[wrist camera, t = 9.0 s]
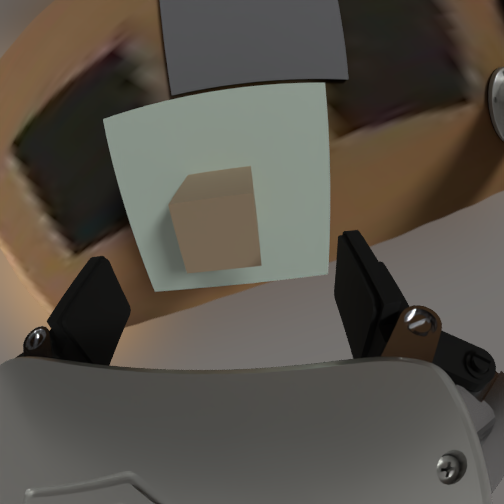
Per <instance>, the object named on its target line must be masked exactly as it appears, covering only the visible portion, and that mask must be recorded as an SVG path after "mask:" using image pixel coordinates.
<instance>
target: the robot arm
mask: <svg viewBox="0 0 504 504" xmlns="http://www.w3.org/2000/svg"><path fill="white" fill-rule="evenodd" d="M488 103H489V111H490V116H491V119H492V123H493V126H494V128H495V130H496V132H497V134H498V136H499V137H500V138H501V140H502V141H504V67H500V68H498V69H496V70H495V71H494V73H493V74H492V77H491V79H490V83H489V90H488ZM334 296H335V300H336V304H337V306H338V310H339V313H340V316H341V319H342V322H343V325H344V328H345V332H346V335H347V338H348V342H349V345H350V348H351V352H352V355H353V359H349V360H339V361H331V362H323V363H315V364H306V365H294V366H283V367H271V368H256V369H234V370H166V369H145V368H131V367H118V366H109V365H110V362H111V359H112V357H113V354H114V352H115V349H116V347H117V344H118V341H119V339H120V337H121V334H122V332H123V329H124V327H125V325H126V322H127V320H128V318H129V315H130V312H131V309H130V305H129V303H128V301H127V299H126V297H125V295H124V293H123V291H122V289H121V287H120V284H119V282H118V280H117V278H116V276H115V273H114V271H113V269H112V266H111V264H110V262H109V260H108V259H106V258H105V257H104V256H98V257H92V258H90V260H89V261H88V262H87V263H86V265H85V266H84V267H83V269H82V270H81V272H80V273H79V274H78V276H77V277H76V278H75V280H74V281H73V283H72V284H71V285H70V287H69V288H68V290H67V291H66V293H65V294H64V296H63V297H62V298H61V300H60V301H59V303H58V304H57V306H56V308H55V309H54V311H53V312H52V314H51V315H50V317H49V318H48V320H47V323H48V324H49V326H50V327H51V330H50V331H49V330H48V329H47V328H46V327H43V326H41V327H37V328H35V329H34V330H32V331H31V332H30V333H29V334H28V335H27V337H26V338H25V341H24V344H23V353H22V354H20V355H19V356H17V357H16V358H14V359H11V360H8V361H6V362H4V363H3V364H1V365H0V504H492V495H491V494H492V493H493V491H494V490H495V488H496V487H497V486H498V484H499V483H500V481H501V480H502V478H503V476H504V373H503V372H502V371H501V372H500V373H497V372H496V366H495V362H494V359H493V358H492V356H491V355H490V354H489V353H488V352H487V351H485V350H484V349H482V348H479V347H477V346H475V345H473V344H470V343H468V342H466V341H464V340H462V339H459V338H457V337H455V336H452V335H450V334H448V333H446V332H443V331H441V329H442V323H441V320H440V318H439V316H438V315H437V314H436V313H435V312H434V311H433V310H431V309H429V308H427V307H424V306H411V307H409V305H408V303H407V301H406V300H405V298H404V296H403V294H402V293H401V291H400V289H399V287H398V286H397V284H396V282H395V281H394V279H393V277H392V276H391V274H390V273H389V271H388V269H387V268H386V266H385V265H384V263H383V262H378V260H377V258H376V257H375V255H374V254H373V252H372V250H371V249H370V247H369V246H368V244H367V243H366V241H365V239H364V238H363V236H362V235H361V233H360V232H359V231H358V230H354V231H344V232H343V235H340V236H338V247H337V263H336V276H335V289H334Z"/></svg>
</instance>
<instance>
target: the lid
mask: <svg viewBox="0 0 504 504" xmlns="http://www.w3.org/2000/svg"><path fill="white" fill-rule="evenodd" d="M103 122H104V127H105V132H106V136H107V141H108V145H109V150H110V154H111V158H112V162H113V166H114V170H115V174H116V177H117V181H118V185H119V188H120V192H121V195H122V199H123V202H124V206H125V209H126V212H127V215H128V218H129V222H130V225H131V228H132V231H133V234H134V237H135V240H136V243H137V246H138V248H139V251H140V254H141V257H142V259H143V262H144V265H145V268H146V270H147V273H148V275H149V278H150V281H151V283H152V286H153V288H154V291H155V292H157V291H170V290H182V289H194V288H205V287H216V286H227V285H237V284H247V283H257V282H266V281H275V280H284V279H293V278H301V277H309V276H318V275H326V274H328V264H329V238H330V157H329V133H328V116H327V102H326V89H325V83H287V84H271V85H259V86H249V87H240V88H233V89H225V90H219V91H212V92H207V93H201V94H196V95H190V96H186V97H181V98H176V99H172V100H168V101H163V102H159V103H155V104H152V105H148V106H144V107H141V108H137V109H134V110H130V111H127V112H124V113H121V114H117V115H114V116H111V117H108V118H106V119H103Z"/></svg>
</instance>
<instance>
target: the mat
mask: <svg viewBox="0 0 504 504" xmlns="http://www.w3.org/2000/svg"><path fill="white" fill-rule="evenodd" d="M160 9H161V19H162V28H163V37H164V45H165V53H166V60H167V68H168V74H169V81H170V88H171V94H172V95H177V94H182V93H187V92H192V91H197V90H202V89H208V88H214V87H220V86H227V85H234V84H242V83H251V82H262V81H275V80H294V79H342V80H349V79H348V69H347V59H346V51H345V43H344V36H343V29H342V22H341V16H340V11H339V5H338V0H160Z"/></svg>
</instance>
